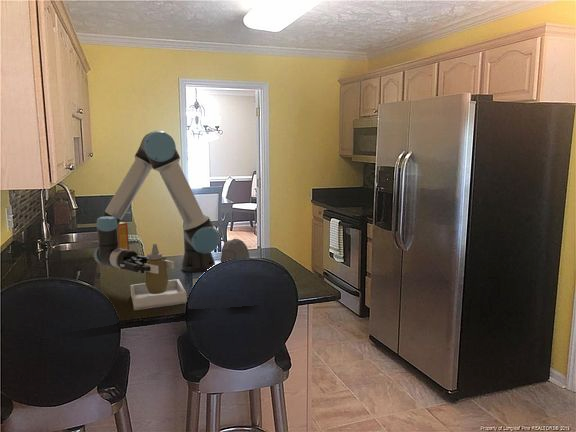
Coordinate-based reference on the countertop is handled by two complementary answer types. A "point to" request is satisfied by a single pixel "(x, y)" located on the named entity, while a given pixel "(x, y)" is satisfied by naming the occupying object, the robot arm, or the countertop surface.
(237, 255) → the small grey backpack
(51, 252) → the countertop surface
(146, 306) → the box
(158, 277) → the squeeze bottle
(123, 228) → the baking soda box
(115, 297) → the countertop surface
